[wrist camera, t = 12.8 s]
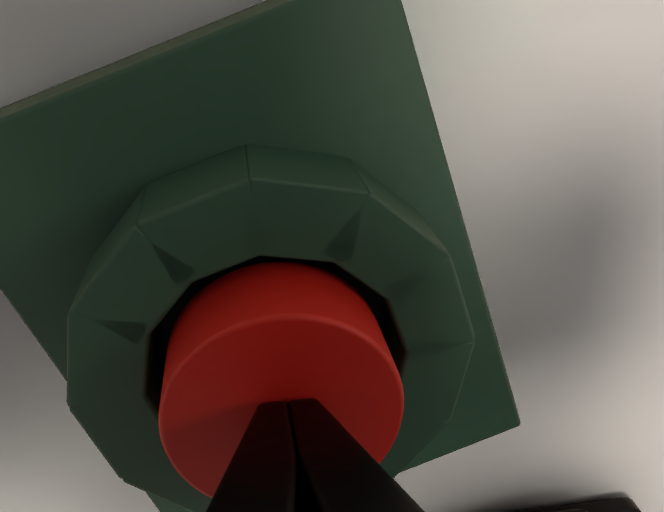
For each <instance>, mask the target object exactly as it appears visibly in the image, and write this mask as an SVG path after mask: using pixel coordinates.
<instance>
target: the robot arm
mask: <svg viewBox="0 0 664 512" xmlns="http://www.w3.org/2000/svg"><path fill="white" fill-rule="evenodd" d="M206 512H424V511H423V510H422V509H421V508H420V506H419V505H418V504H417V503H416V502H415V501H414V500H413V499H412V498H411V497H410V496H409V495H408V494H407V493H406V492H405V491H404V490H403V489H402V488H401V487H400V485H399V484H398V483H397V482H396V481H395V480H394V479H393V478H392V477H391V476H390V475H389V474H388V473H387V472H386V471H385V470H384V469H383V468H382V467H381V465H380V464H379V463H378V462H377V461H376V460H375V459H374V458H373V457H372V456H371V455H370V454H369V453H368V452H367V451H366V450H365V449H364V448H363V447H362V446H361V444H360V443H359V442H358V441H357V440H356V439H355V438H354V437H353V436H352V435H351V434H350V433H349V432H348V431H347V430H346V429H345V428H344V427H343V426H342V424H341V423H340V422H339V421H338V420H337V419H336V418H335V417H334V416H333V415H332V414H331V413H330V412H329V411H328V410H327V409H326V408H325V407H324V406H323V405H322V403H321V402H320V401H319V400H318V399H316V398H306V399H296V400H291V401H290V402H289V404H287V403H286V402H285V401H275V402H265V403H261V404H259V405H258V407H257V408H256V410H255V412H254V414H253V416H252V419H251V421H250V423H249V425H248V427H247V429H246V431H245V433H244V435H243V437H242V439H241V441H240V443H239V445H238V447H237V449H236V451H235V453H234V455H233V457H232V459H231V461H230V463H229V465H228V467H227V469H226V471H225V473H224V475H223V477H222V479H221V481H220V483H219V485H218V487H217V490H216V492H215V494H214V496H213V498H212V500H211V502H210V504H209V506H208V508H207V510H206ZM516 512H641V511H640V510H639V508H638V507H637V506H636V504H635V503H634V502H633V500H631V499H629V498H616V499H608V500H601V501H593V502H585V503H578V504H570V505H562V506H554V507H547V508H539V509H531V510H524V511H516Z"/></svg>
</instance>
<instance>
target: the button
mask: <svg viewBox="0 0 664 512" xmlns="http://www.w3.org/2000/svg"><path fill="white" fill-rule="evenodd" d="M306 398H316V399H318V400H319V401H320V402H321V403H322V405H323V406H324V407H325V408H326V409H327V410H328V411H329V412H330V413H331V414H332V415H333V416H334V417H335V418H336V419H337V420H338V421H339V422H340V423H341V424H342V426H343V427H344V428H345V429H346V430H347V431H348V432H349V433H350V434H351V435H352V436H353V437H354V438H355V439H356V440H357V441H358V442H359V443H360V444H361V446H362V447H363V448H364V449H365V450H366V451H367V452H368V453H369V454H370V455H371V456H372V457H373V458H374V459H375V460H376V461H377V462H378V463H379V464H380V463H381V461H382V460H383V459H384V458H385V456H386V455H387V453H388V452H389V450H390V449H391V447H392V445H393V443H394V441H395V439H396V437H397V434H398V432H399V429H400V426H401V421H402V416H403V411H404V393H403V385H402V382H401V378H400V375H399V372H398V370H397V367H396V365H395V363H394V360H393V358H392V356H391V353H390V351H389V349H388V346H387V344H386V341H385V339H384V337H383V334H382V332H381V330H380V327H379V325H378V323H377V320H376V318H375V316H374V314H373V312H372V310H371V308H370V306H369V305H368V303H367V302H366V300H365V299H364V298H363V296H362V295H361V294H360V293H359V292H358V291H357V290H356V289H355V288H354V287H352V286H351V285H350V284H349V283H347V282H346V281H345V280H343V279H342V278H340V277H338V276H337V275H335V274H333V273H331V272H328V271H326V270H324V269H321V268H318V267H315V266H311V265H307V264H302V263H296V262H279V261H277V262H265V263H259V264H254V265H249V266H246V267H243V268H239V269H236V270H234V271H231V272H229V273H227V274H225V275H223V276H221V277H219V278H218V279H216V280H214V281H213V282H211V283H210V284H208V285H207V286H205V287H204V288H203V289H202V290H201V291H199V292H198V293H197V294H196V295H195V296H194V297H193V298H192V299H191V300H190V301H189V302H188V303H187V304H186V306H185V307H184V309H183V310H182V312H181V313H180V314H179V316H178V318H177V320H176V322H175V324H174V326H173V328H172V331H171V334H170V337H169V341H168V348H167V354H166V361H165V369H164V376H163V384H162V391H161V399H160V406H159V413H158V425H159V433H160V438H161V442H162V445H163V447H164V450H165V453H166V454H167V456H168V458H169V460H170V462H171V463H172V465H173V467H174V468H175V469H176V470H177V472H178V473H179V474H180V476H181V477H182V478H184V479H185V480H186V481H187V482H188V483H189V484H190V485H191V486H193V487H194V488H195V489H197V490H198V491H200V492H201V493H203V494H205V495H206V496H208V497H210V498H213V496H214V494H215V492H216V490H217V487H218V485H219V483H220V481H221V479H222V477H223V475H224V473H225V471H226V469H227V467H228V465H229V463H230V461H231V459H232V457H233V455H234V453H235V451H236V449H237V447H238V445H239V443H240V441H241V439H242V437H243V435H244V433H245V431H246V429H247V427H248V425H249V423H250V421H251V419H252V416H253V414H254V412H255V410H256V408H257V407H258V405H259V404H261V403H265V402H275V401H285V402H286V403H287V404H289V402H290V401H291V400H296V399H306Z"/></svg>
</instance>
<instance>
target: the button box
mask: <svg viewBox="0 0 664 512" xmlns="http://www.w3.org/2000/svg"><path fill="white" fill-rule="evenodd" d="M277 261H279V262H296V263H302V264H307V265H311V266H315V267H318V268H321V269H324V270H326V271H328V272H331V273H333V274H335V275H337V276H338V277H340V278H342V279H343V280H345V281H346V282H347V283H349V284H350V285H351V286H352V287H354V288H355V289H356V290H357V291H358V292H359V293H360V294H361V295H362V296H363V298H364V299H365V300H366V302H367V303H368V305H369V306H370V308H371V310H372V312H373V314H374V316H375V318H376V320H377V323H378V325H379V327H380V330H381V332H382V334H383V337H384V339H385V341H386V344H387V346H388V349H389V351H390V353H391V356H392V358H393V360H394V363H395V365H396V367H397V370H398V372H399V375H400V378H401V382H402V385H403V393H404V411H403V416H402V421H401V426H400V429H399V432H398V434H397V437H396V439H395V441H394V443H393V445H392V447H391V449H390V450H389V452H388V453H387V455H386V456H385V458H384V459H383V460H382V461H381V463H380V465H381V467H382V468H383V469H384V470H385V471H386V472H387V473H388V474H389V475H390V476H391V477H392V478H394V477H395V476H396V475H397V474H398V473H400V472H402V471H405V470H407V469H410V468H413V467H415V466H418V465H420V464H423V463H425V462H428V461H430V460H433V459H435V458H438V457H441V456H443V455H446V454H448V453H451V452H453V451H456V450H458V449H461V448H463V447H466V446H469V445H471V444H474V443H476V442H479V441H481V440H484V439H486V438H489V437H492V436H494V435H497V434H499V433H502V432H504V431H507V430H509V429H512V428H514V427H517V426H519V425H520V419H519V415H518V412H517V408H516V404H515V401H514V397H513V394H512V390H511V387H510V383H509V380H508V376H507V373H506V369H505V366H504V362H503V359H502V355H501V351H500V348H499V344H498V341H497V337H496V334H495V330H494V327H493V323H492V320H491V316H490V313H489V309H488V306H487V302H486V298H485V295H484V291H483V288H482V284H481V281H480V277H479V274H478V270H477V267H476V263H475V260H474V256H473V252H472V249H471V245H470V242H469V238H468V235H467V231H466V228H465V224H464V221H463V217H462V214H461V210H460V207H459V203H458V199H457V196H456V192H455V189H454V185H453V182H452V178H451V175H450V171H449V168H448V164H447V161H446V157H445V154H444V150H443V146H442V143H441V139H440V136H439V132H438V129H437V125H436V122H435V118H434V115H433V111H432V108H431V104H430V101H429V97H428V93H427V90H426V86H425V83H424V79H423V76H422V72H421V69H420V65H419V62H418V58H417V55H416V51H415V48H414V44H413V40H412V37H411V33H410V30H409V26H408V23H407V19H406V16H405V12H404V9H403V5H402V2H401V0H267V1H265V2H262V3H260V4H257V5H255V6H252V7H250V8H247V9H245V10H243V11H240V12H238V13H235V14H233V15H230V16H228V17H225V18H223V19H220V20H218V21H215V22H213V23H210V24H208V25H205V26H203V27H201V28H198V29H196V30H193V31H191V32H188V33H186V34H183V35H181V36H178V37H176V38H173V39H171V40H168V41H166V42H163V43H161V44H159V45H156V46H154V47H151V48H149V49H146V50H144V51H141V52H139V53H136V54H134V55H131V56H129V57H126V58H124V59H121V60H119V61H116V62H114V63H112V64H109V65H107V66H104V67H102V68H99V69H97V70H94V71H92V72H89V73H87V74H84V75H82V76H79V77H77V78H74V79H72V80H70V81H67V82H65V83H62V84H60V85H57V86H55V87H52V88H50V89H47V90H45V91H42V92H40V93H37V94H35V95H32V96H30V97H28V98H25V99H23V100H20V101H18V102H15V103H13V104H10V105H8V106H5V107H3V108H0V289H1V290H2V291H3V293H4V294H5V296H6V297H7V298H8V300H9V301H10V303H11V304H12V305H13V307H14V308H15V310H16V311H17V312H18V314H19V315H20V317H21V318H22V319H23V321H24V322H25V324H26V325H27V326H28V328H29V329H30V331H31V332H32V333H33V335H34V336H35V338H36V339H37V340H38V342H39V343H40V345H41V346H42V347H43V349H44V350H45V352H46V353H47V354H48V356H49V357H50V359H51V360H52V361H53V363H54V364H55V366H56V367H57V368H58V370H59V371H60V373H61V374H62V375H63V377H64V378H65V380H66V381H67V403H68V406H69V407H70V411H71V412H72V414H73V415H74V416H75V418H76V419H77V421H78V422H79V423H80V425H81V426H82V427H83V429H84V430H85V431H86V433H87V434H88V436H89V437H90V438H91V440H92V441H93V442H94V444H95V445H96V446H97V448H98V449H99V451H100V452H101V453H102V455H103V456H104V457H105V459H106V460H107V461H108V463H109V464H110V466H111V467H112V468H113V470H114V471H115V472H116V474H117V475H118V477H120V478H123V481H124V482H126V483H128V484H130V485H132V486H135V487H137V488H139V489H141V490H144V491H146V493H147V494H148V496H149V497H150V498H151V500H152V501H153V503H154V504H155V505H156V507H157V508H158V510H159V511H160V512H206V510H207V508H208V506H209V504H210V502H211V500H212V498H210V497H208V496H206V495H205V494H203V493H201V492H200V491H198V490H197V489H195V488H194V487H193V486H191V485H190V484H189V483H188V482H187V481H186V480H185V479H184V478H182V477H181V476H180V474H179V473H178V472H177V470H176V469H175V468H174V467H173V465H172V463H171V462H170V460H169V458H168V456H167V454H166V453H165V450H164V447H163V445H162V442H161V438H160V433H159V425H158V413H159V406H160V399H161V391H162V384H163V376H164V369H165V361H166V354H167V348H168V341H169V337H170V334H171V331H172V328H173V326H174V324H175V322H176V320H177V318H178V316H179V314H180V313H181V312H182V310H183V309H184V307H185V306H186V304H187V303H188V302H189V301H190V300H191V299H192V298H193V297H194V296H195V295H196V294H197V293H198V292H199V291H201V290H202V289H203V288H204V287H205V286H207V285H208V284H210V283H211V282H213V281H214V280H216V279H218V278H219V277H221V276H223V275H225V274H227V273H229V272H231V271H234V270H236V269H239V268H243V267H246V266H249V265H254V264H259V263H265V262H277Z"/></svg>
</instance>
